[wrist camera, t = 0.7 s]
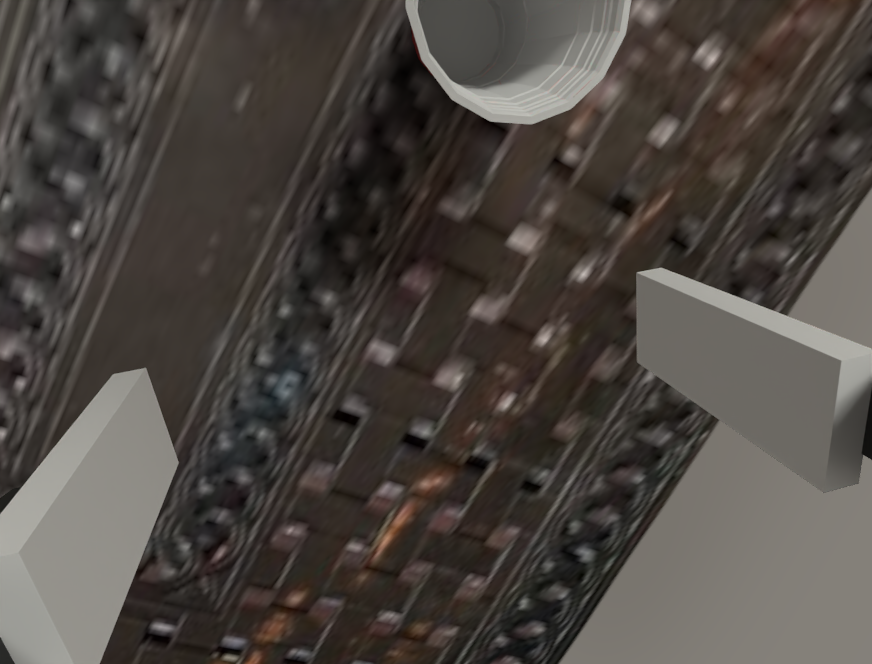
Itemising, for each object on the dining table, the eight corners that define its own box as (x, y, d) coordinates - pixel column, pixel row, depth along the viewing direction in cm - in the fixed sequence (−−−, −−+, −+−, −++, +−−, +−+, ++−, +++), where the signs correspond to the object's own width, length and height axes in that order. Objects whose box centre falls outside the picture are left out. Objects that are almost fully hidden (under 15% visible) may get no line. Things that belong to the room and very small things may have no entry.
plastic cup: (473, 162, 38) (540, 173, 27) (338, 52, 35) (352, 12, 23) (573, 22, 37) (688, -28, 26) (444, -110, 33) (512, -234, 22)
